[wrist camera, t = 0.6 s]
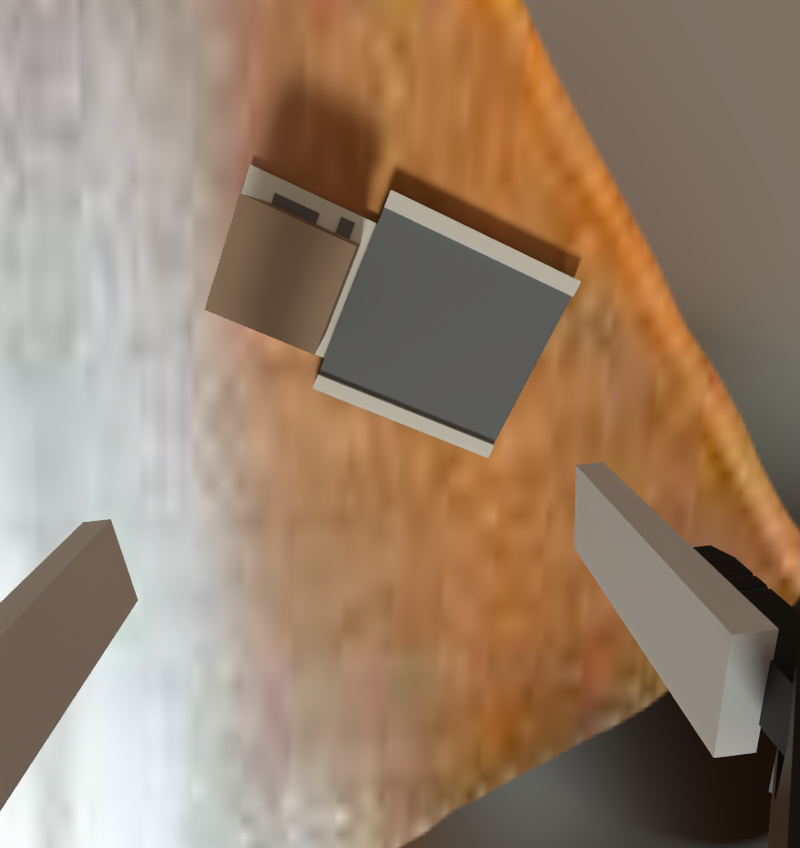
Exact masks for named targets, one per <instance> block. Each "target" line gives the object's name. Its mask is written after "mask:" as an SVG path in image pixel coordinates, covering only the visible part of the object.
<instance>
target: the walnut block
mask: <svg viewBox="0 0 800 848" xmlns="http://www.w3.org/2000/svg"><path fill="white" fill-rule="evenodd" d="M359 247H360V244H359V243H356V242H354V241H352V240H350V239H348V238H345V237H343V236H341V235H339V234H337V233H335V232H332V231H330V230H328V229H326V228H324V227H321V226H319V225H317V224H315V223H313V222H310V221H308V220H306V219H304V218H302V217H300V216H297V215H295V214H293V213H291V212H289V211H286V210H284V209H282V208H280V207H278V206H275V205H273V204H271V203H269V202H267V201H264V200H260V199H257V198H254V197H250V196H247V195H244V194H240V197H239V200H238V204H237V207H236V210H235V213H234V217H233V220H232V223H231V227H230V230H229V233H228V236H227V240H226V243H225V246H224V249H223V253H222V256H221V259H220V262H219V266H218V269H217V272H216V275H215V279H214V282H213V285H212V289H211V292H210V295H209V298H208V302H207V305H206V308H205V310H207V311H209V312H212V313H214V314H217V315H219V316H222V317H224V318H226V319H229V320H231V321H234V322H236V323H239V324H241V325H244V326H246V327H248V328H251V329H253V330H256V331H258V332H261V333H263V334H265V335H268V336H270V337H273V338H275V339H278V340H280V341H282V342H285V343H287V344H290V345H292V346H295V347H297V348H300V349H302V350H304V351H307V352H309V353H312V354H314V355H315V353H316V351H317V349H318V347H319V346H320V344H321V342H322V340H323V338H324V336H325V334H326V332H327V329H328V327H329V324H330V322H331V319H332V316H333V314H334V311H335V309H336V306H337V304H338V301H339V298H340V296H341V293H342V291H343V288H344V286H345V283H346V280H347V278H348V275H349V273H350V270H351V268H352V265H353V262H354V260H355V257H356V255H357V252H358V250H359Z"/></svg>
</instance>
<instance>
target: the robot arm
mask: <svg viewBox="0 0 800 848" xmlns="http://www.w3.org/2000/svg"><path fill="white" fill-rule="evenodd" d="M575 550H576V551H577V553H578V554H579V556H580V557H581V559H582V560H583V562H584V563H585V565H586V566H587V568H588V569H589V571H590V572H591V574H592V575H593V577H594V578H595V580H596V581H597V583H598V584H599V586H600V587H601V589H602V590H603V592H604V593H605V595H606V596H607V598H608V599H609V601H610V602H611V604H612V605H613V607H614V608H615V610H616V611H617V613H618V614H619V616H620V617H621V619H622V620H623V622H624V623H625V625H626V626H627V628H628V629H629V631H630V632H631V634H632V635H633V637H634V638H635V640H636V641H637V643H638V644H639V646H640V647H641V649H642V650H643V652H644V653H645V655H646V656H647V658H648V660H649V661H650V663H651V664H652V666H653V667H654V669H655V670H656V672H657V673H658V675H659V676H660V678H661V679H662V681H663V682H664V684H665V685H666V687H667V688H668V690H669V691H670V692H671V694H672V696H673V697H674V699H675V700H676V702H677V703H678V704H679V706H680V707H681V709H682V710H683V712H684V713H685V715H686V717H687V718H688V720H689V721H690V723H691V724H692V725H693V727H694V729H695V730H696V732H697V733H698V735H699V736H700V738H701V739H702V741H703V742H704V744H705V745H706V746H707V748H708V750H709V751H710V752H711V754H712V756H713V757H714V758H715V757H723V756H731V755H739V754H747V753H755V752H756V749H757V744H758V738H759V733H760V728H762V729H763V730H764V732H765V733H766V734H767V735H768V737H769V738H770V739H771V740H772V742H773V743H774V744H775V745H776V747H777V753H776V758H775V763H774V768H773V773H772V778H771V783H770V787H769V792H771V793H772V802H771V814H770V826H769V838H768V848H800V614H799V613H798V612H797V611H796V610H795V609H793V608H792V607H791V606H790V605H789V604H788V603H787V602H785V601H784V600H783V599H782V598H781V597H780V596H778V595H777V594H776V593H775V592H774V591H773V590H772V589H768V588H767V585H766V584H765V583H763V582H762V581H761V580H760V579H759V578H758V577H757V576H753V574H752V572H751V571H750V570H748V569H747V568H746V567H745V566H744V565H743V564H742V563H740V562H739V561H738V560H737V559H736V558H735V557H733V556H731V555H729V554H727V553H725V552H723V551H721V550H719V549H717V548H715V547H713V546H711V545H709V546H701V547H692V546H691V545H690V544H689V543H688V542H686V541H685V540H684V539H683V538H682V537H681V536H680V535H679V534H678V533H677V532H676V531H675V530H674V529H673V528H672V527H671V526H670V525H669V524H668V523H666V522H665V521H664V520H663V519H662V518H661V517H660V516H659V515H658V514H657V513H656V512H655V511H654V510H653V509H652V508H651V507H650V506H649V505H647V504H646V503H645V502H644V501H643V500H642V499H641V498H640V497H639V496H638V495H637V494H636V493H635V492H634V491H633V490H632V489H631V488H630V487H629V486H627V485H626V484H625V483H624V482H623V481H622V480H621V479H620V478H619V477H618V476H617V475H616V474H615V473H614V472H613V471H612V470H611V469H610V468H608V467H607V466H606V465H605V464H604V463H603V462H599V463H590V464H581V465H576V493H575ZM137 601H138V599H137V596H136V593H135V590H134V587H133V584H132V581H131V578H130V575H129V572H128V569H127V566H126V563H125V560H124V557H123V554H122V551H121V549H120V546H119V543H118V540H117V537H116V534H115V531H114V528H113V525H112V522H111V519H108V520H100V521H91V522H83V523H82V524H81V525H80V526H79V527H78V528H77V529H76V530H75V531H74V532H73V533H72V534H71V535H70V536H69V537H68V538H67V539H66V540H65V541H63V542H62V543H61V544H60V545H59V546H58V547H57V548H56V549H55V550H54V551H53V552H52V553H51V554H50V555H49V556H48V557H47V558H46V559H45V560H44V561H43V562H42V563H41V564H40V565H39V566H38V567H37V568H36V569H35V570H34V571H33V572H32V573H31V574H29V575H28V576H27V577H26V578H25V579H24V580H23V581H22V582H21V583H20V584H19V585H18V586H17V587H16V588H15V589H14V590H13V591H12V592H11V593H10V594H9V595H8V596H7V597H6V598H5V599H4V600H3V601H2V602H1V603H0V811H1V809H2V808H3V806H4V805H5V803H6V802H7V800H8V798H9V797H10V795H11V794H12V792H13V791H14V789H15V788H16V786H17V785H18V783H19V782H20V780H21V779H22V777H23V775H24V774H25V772H26V771H27V769H28V768H29V766H30V765H31V763H32V762H33V760H34V759H35V757H36V756H37V754H38V752H39V751H40V749H41V748H42V746H43V745H44V743H45V742H46V740H47V739H48V737H49V736H50V734H51V733H52V731H53V730H54V728H55V726H56V725H57V723H58V722H59V720H60V719H61V717H62V716H63V714H64V713H65V711H66V710H67V708H68V707H69V705H70V703H71V702H72V700H73V699H74V697H75V696H76V694H77V693H78V691H79V690H80V688H81V687H82V685H83V684H84V682H85V681H86V679H87V677H88V676H89V674H90V673H91V671H92V670H93V668H94V667H95V665H96V664H97V662H98V661H99V659H100V658H101V656H102V654H103V653H104V651H105V650H106V648H107V647H108V645H109V644H110V642H111V641H112V639H113V638H114V636H115V635H116V633H117V631H118V630H119V628H120V627H121V625H122V624H123V622H124V621H125V619H126V618H127V616H128V615H129V613H130V612H131V610H132V609H133V607H134V605H135V604H136V602H137Z"/></svg>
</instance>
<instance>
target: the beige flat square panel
mask: <svg viewBox="0 0 800 848" xmlns="http://www.w3.org/2000/svg"><path fill="white" fill-rule="evenodd" d="M241 194H244V195H247V196H250V197H254V198H257V199H260V200H264V201H267V202H269V203H271V204H273V205H275V206H278V207H280V208H282V209H284V210H286V211H289V212H291V213H293V214H295V215H297V216H300V217H302V218H304V219H306V220H308V221H310V222H313V223H315V224H317V225H319V226H321V227H324V228H326V229H328V230H330V231H332V232H335V233H337V234H339V235H341V236H343V237H345V238H348V239H350V240H352V241H354V242H356V243H359V244H360V247H359V250H358V252H357V255H356V257H355V260H354V262H353V265H352V268H351V270H350V273H349V275H348V278H347V280H346V283H345V286H344V288H343V291H342V293H341V296H340V298H339V301H338V304H337V306H336V309H335V311H334V314H333V316H332V319H331V322H330V324H329V327H328V329H327V332H326V334H325V336H324V338H323V340H322V342H321V344H320V346H319V347H318V349H317V351H316V353H315V355H318V356H320V357H323V358H325V356H326V353H327V351H328V348H329V346H330V343H331V340H332V338H333V335H334V333H335V330H336V328H337V325H338V323H339V320H340V318H341V315H342V313H343V310H344V308H345V305H346V302H347V300H348V297H349V295H350V292H351V290H352V287H353V285H354V282H355V280H356V277H357V275H358V272H359V269H360V267H361V264H362V262H363V259H364V257H365V254H366V252H367V249H368V247H369V244H370V242H371V239H372V237H373V234H374V231H375V229H376V226H377V223H375V222H372V221H370V220H368V219H366V218H364V217H362V216H360V215H357V214H355V213H353V212H351V211H349V210H347V209H345V208H342V207H340V206H338V205H336V204H334V203H332V202H330V201H327V200H325V199H323V198H321V197H319V196H317V195H315V194H313V193H310V192H308V191H306V190H304V189H302V188H300V187H298V186H295V185H293V184H291V183H289V182H287V181H285V180H283V179H280V178H278V177H276V176H274V175H272V174H270V173H268V172H266V171H263V170H261V169H259V168H257V167H255V166H253V165H251V164H250V167H249V170H248V173H247V176H246V179H245V183H244V186H243V189H242V192H241Z"/></svg>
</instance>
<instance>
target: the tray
mask: <svg viewBox="0 0 800 848" xmlns="http://www.w3.org/2000/svg"><path fill="white" fill-rule="evenodd" d="M580 283H581V281H579V280H577V279H575V278H573V277H571V276H569V275H566V274H564V273H562V272H560V271H558V270H556V269H554V268H552V267H550V266H548V265H546V264H544V263H542V262H540V261H538V260H535V259H533V258H531V257H529V256H527V255H525V254H523V253H521V252H519V251H517V250H515V249H513V248H511V247H509V246H506V245H504V244H502V243H500V242H498V241H496V240H494V239H492V238H490V237H488V236H486V235H484V234H482V233H480V232H478V231H475V230H473V229H471V228H469V227H467V226H465V225H463V224H461V223H459V222H457V221H455V220H453V219H451V218H449V217H447V216H444V215H442V214H440V213H438V212H436V211H434V210H432V209H430V208H428V207H426V206H424V205H422V204H420V203H418V202H415V201H413V200H411V199H409V198H407V197H405V196H403V195H401V194H399V193H397V192H395V191H393V190H391V191H390V193H389V196H388V198H387V201H386V204H385V206H384V209H383V211H382V214H381V216H380V219H379V221H378V224H377V226H376V229H375V231H374V234H373V237H372V239H371V242H370V244H369V247H368V249H367V252H366V254H365V257H364V259H363V262H362V264H361V267H360V269H359V272H358V275H357V277H356V280H355V282H354V285H353V287H352V290H351V292H350V295H349V297H348V300H347V302H346V305H345V308H344V310H343V313H342V315H341V318H340V320H339V323H338V325H337V328H336V330H335V333H334V335H333V338H332V340H331V343H330V346H329V348H328V351H327V353H326V356H325V358H324V361H323V363H322V366H321V368H320V371H319V373H318V376H317V378H316V381H315V384H314V386H313V389H315V390H317V391H320V392H323V393H325V394H328V395H330V396H333V397H335V398H338V399H340V400H343V401H345V402H348V403H350V404H353V405H355V406H358V407H360V408H363V409H365V410H368V411H370V412H373V413H376V414H378V415H381V416H383V417H386V418H388V419H391V420H393V421H396V422H398V423H401V424H403V425H406V426H408V427H411V428H413V429H416V430H418V431H421V432H424V433H426V434H429V435H431V436H434V437H436V438H439V439H441V440H444V441H446V442H449V443H451V444H454V445H456V446H459V447H461V448H464V449H466V450H469V451H472V452H474V453H477V454H479V455H482V456H484V457H487V458H488V457H489V455H490V453H491V451H492V450H493V448H494V442H495V440H496V439H497V437H498V435H499V433H500V431H501V429H502V427H503V425H504V423H505V422H506V420H507V418H508V416H509V414H510V412H511V410H512V408H513V406H514V404H515V403H516V401H517V399H518V397H519V395H520V393H521V391H522V389H523V387H524V385H525V384H526V382H527V380H528V378H529V376H530V374H531V372H532V370H533V368H534V366H535V365H536V363H537V361H538V359H539V357H540V355H541V353H542V351H543V349H544V348H545V346H546V344H547V342H548V340H549V338H550V336H551V334H552V332H553V330H554V329H555V327H556V325H557V323H558V321H559V319H560V317H561V315H562V313H563V311H564V310H565V308H566V306H567V304H568V302H569V300H570V298H571V296H574V294H575V292H576V291H577V289H578V287H579V285H580Z"/></svg>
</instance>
